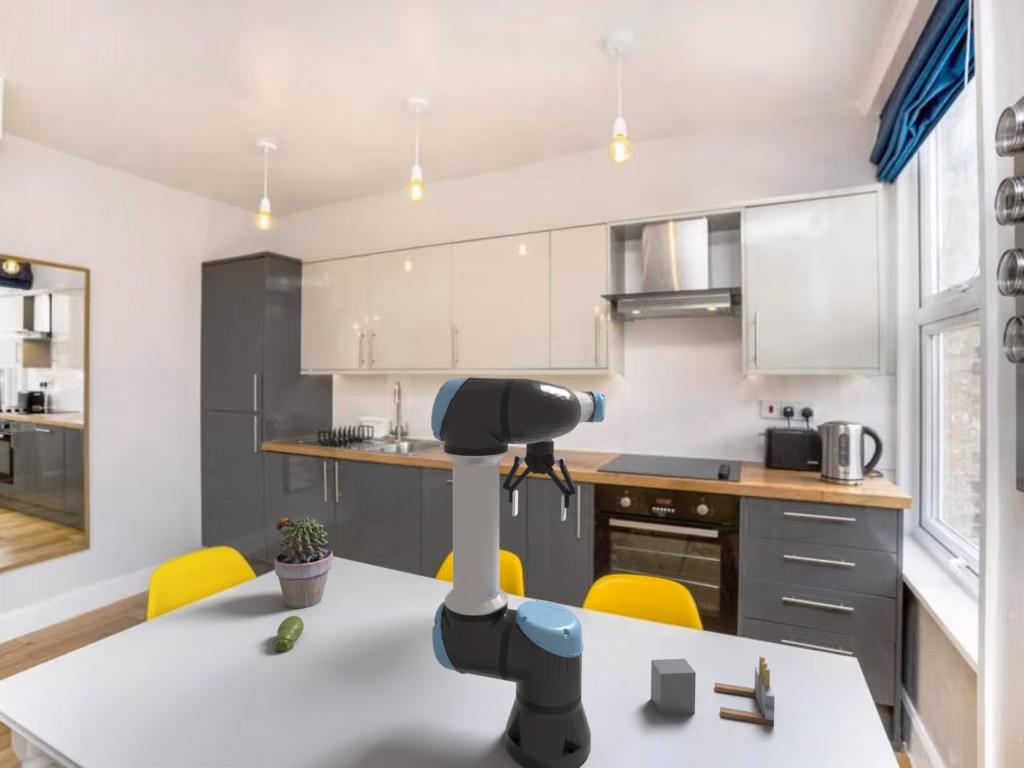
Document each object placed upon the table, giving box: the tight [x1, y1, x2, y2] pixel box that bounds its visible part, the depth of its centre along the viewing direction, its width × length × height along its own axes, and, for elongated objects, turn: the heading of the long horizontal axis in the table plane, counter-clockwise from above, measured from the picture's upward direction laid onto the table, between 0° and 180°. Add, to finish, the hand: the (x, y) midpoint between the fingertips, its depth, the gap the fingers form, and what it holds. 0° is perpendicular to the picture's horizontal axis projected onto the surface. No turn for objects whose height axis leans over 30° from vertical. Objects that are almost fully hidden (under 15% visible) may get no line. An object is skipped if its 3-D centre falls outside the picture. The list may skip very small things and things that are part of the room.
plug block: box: [650, 658, 697, 716], centre depth 103 cm, size 5×7×8 cm
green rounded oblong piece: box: [273, 615, 305, 653], centre depth 125 cm, size 6×5×10 cm
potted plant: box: [273, 516, 337, 610], centre depth 149 cm, size 18×20×25 cm
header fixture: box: [714, 655, 775, 726], centre depth 103 cm, size 10×9×9 cm
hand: (538, 517), depth 141 cm, fingers open, 13 cm apart
